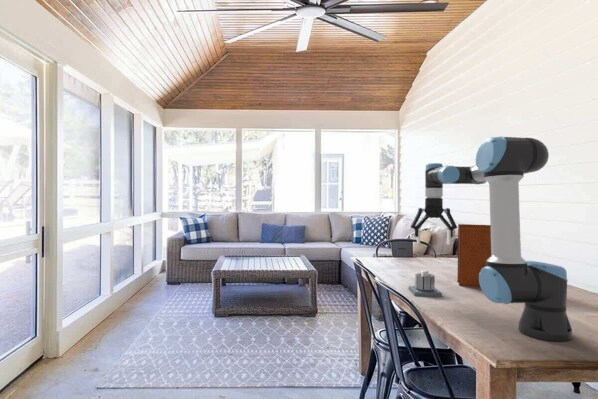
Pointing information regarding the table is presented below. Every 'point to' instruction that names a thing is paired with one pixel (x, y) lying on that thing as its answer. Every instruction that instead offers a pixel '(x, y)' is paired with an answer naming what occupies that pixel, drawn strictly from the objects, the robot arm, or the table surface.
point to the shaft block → (424, 292)
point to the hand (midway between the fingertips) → (433, 244)
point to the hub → (424, 282)
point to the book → (472, 252)
